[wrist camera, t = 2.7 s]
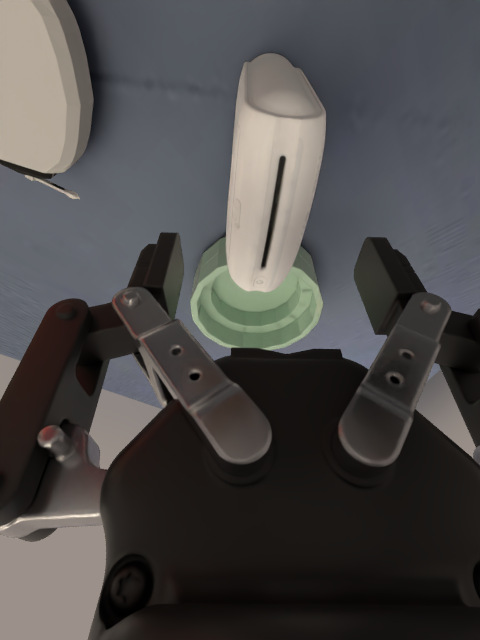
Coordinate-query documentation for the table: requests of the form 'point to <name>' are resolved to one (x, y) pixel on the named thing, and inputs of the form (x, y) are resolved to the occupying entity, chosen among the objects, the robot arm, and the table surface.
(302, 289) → the bowl
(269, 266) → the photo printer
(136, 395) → the table surface
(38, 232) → the table surface
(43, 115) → the robot toy
